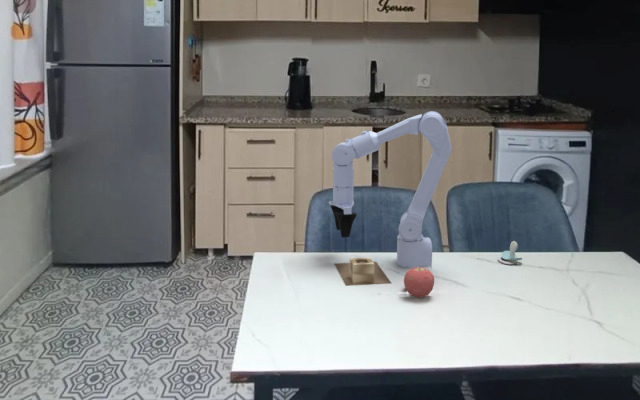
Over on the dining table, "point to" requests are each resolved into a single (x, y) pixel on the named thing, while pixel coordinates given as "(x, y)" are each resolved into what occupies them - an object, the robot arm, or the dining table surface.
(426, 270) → the apple
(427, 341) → the dining table surface
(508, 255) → the pacifier
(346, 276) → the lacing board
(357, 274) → the open-ended tan box
